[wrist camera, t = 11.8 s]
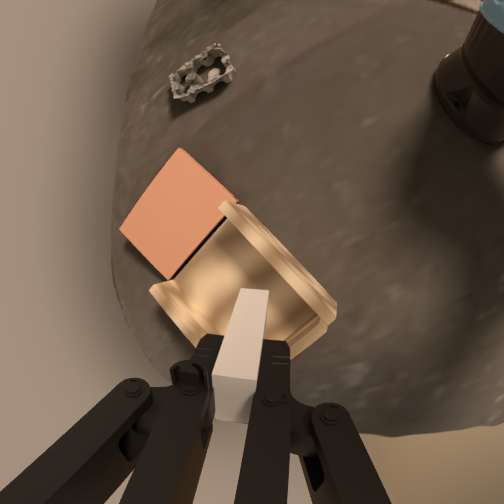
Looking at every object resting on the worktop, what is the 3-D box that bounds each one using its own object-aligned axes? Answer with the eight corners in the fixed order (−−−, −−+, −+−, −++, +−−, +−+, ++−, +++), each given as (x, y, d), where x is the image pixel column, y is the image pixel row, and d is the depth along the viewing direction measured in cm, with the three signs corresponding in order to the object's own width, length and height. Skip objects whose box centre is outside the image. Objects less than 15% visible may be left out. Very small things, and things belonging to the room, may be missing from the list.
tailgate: (237, 201, 36) (178, 147, 36) (168, 280, 41) (119, 229, 40) (238, 200, 38) (182, 148, 37) (171, 278, 42) (123, 228, 41)
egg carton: (229, 52, 37) (219, 39, 34) (241, 81, 37) (231, 68, 33) (176, 79, 41) (163, 69, 37) (183, 109, 40) (169, 100, 37)
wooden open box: (337, 303, 35) (335, 324, 26) (254, 370, 39) (232, 400, 30) (245, 206, 38) (217, 198, 29) (176, 282, 42) (139, 292, 33)
